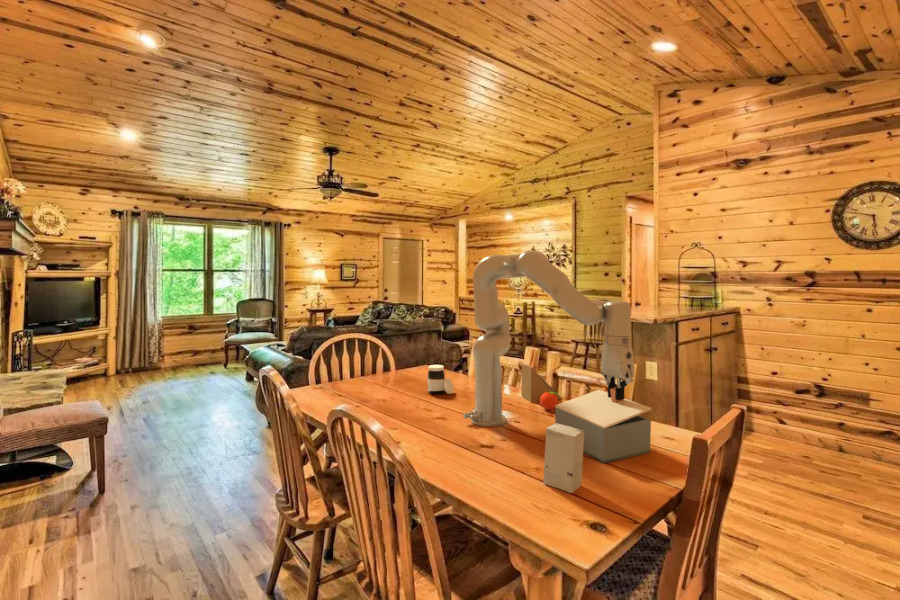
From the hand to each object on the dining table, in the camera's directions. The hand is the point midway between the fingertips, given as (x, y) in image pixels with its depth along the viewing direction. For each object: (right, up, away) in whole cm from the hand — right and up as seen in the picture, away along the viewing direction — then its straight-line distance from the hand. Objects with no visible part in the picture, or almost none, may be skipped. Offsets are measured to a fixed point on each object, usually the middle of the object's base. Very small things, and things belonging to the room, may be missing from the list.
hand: (615, 397), depth 143 cm
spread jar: (-57, -10, +59) cm, 82 cm away
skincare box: (-23, -17, -27) cm, 39 cm away
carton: (-5, -14, -1) cm, 15 cm away
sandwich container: (-13, -11, +49) cm, 52 cm away
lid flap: (-5, -3, -2) cm, 6 cm away
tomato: (-13, -12, +33) cm, 38 cm away
